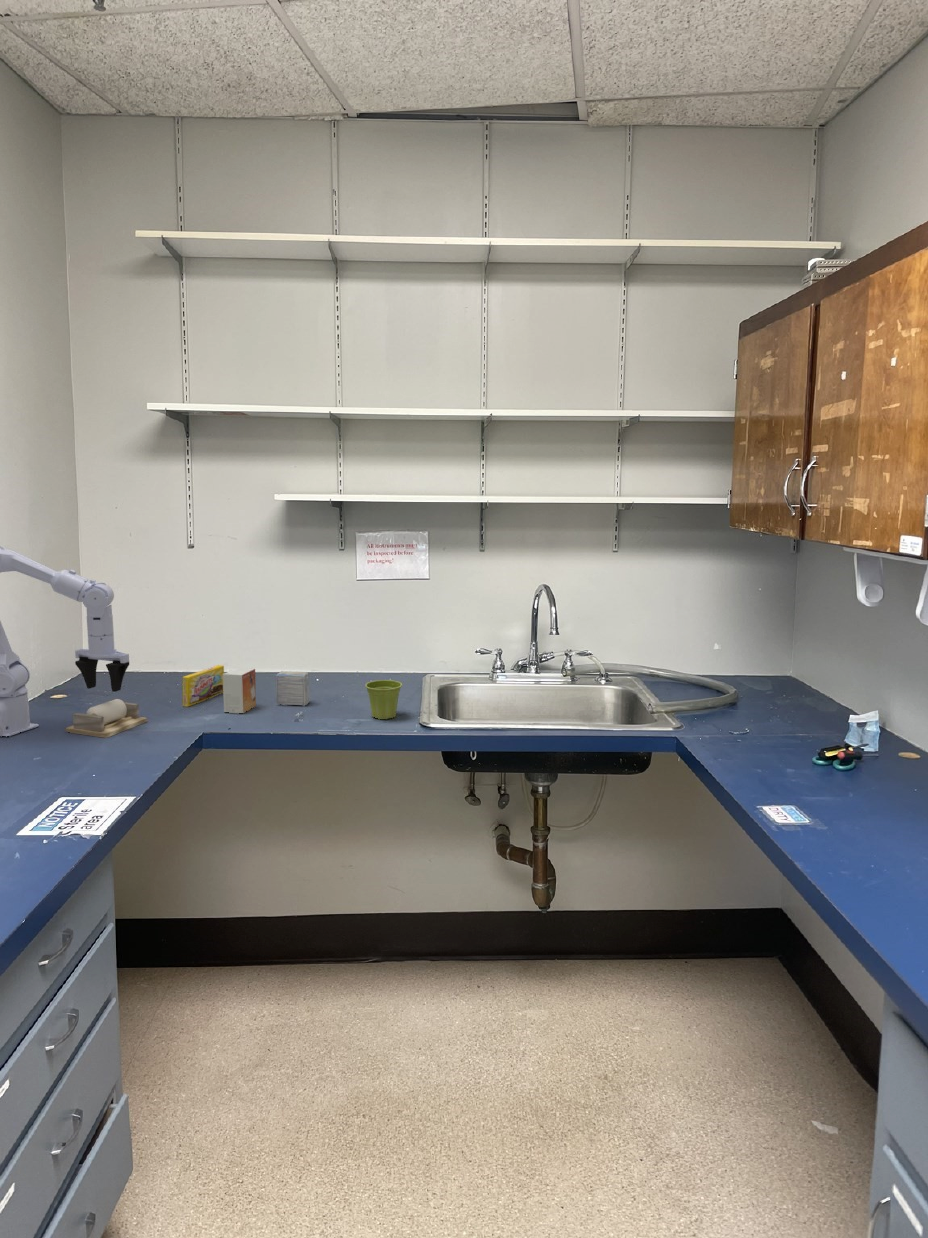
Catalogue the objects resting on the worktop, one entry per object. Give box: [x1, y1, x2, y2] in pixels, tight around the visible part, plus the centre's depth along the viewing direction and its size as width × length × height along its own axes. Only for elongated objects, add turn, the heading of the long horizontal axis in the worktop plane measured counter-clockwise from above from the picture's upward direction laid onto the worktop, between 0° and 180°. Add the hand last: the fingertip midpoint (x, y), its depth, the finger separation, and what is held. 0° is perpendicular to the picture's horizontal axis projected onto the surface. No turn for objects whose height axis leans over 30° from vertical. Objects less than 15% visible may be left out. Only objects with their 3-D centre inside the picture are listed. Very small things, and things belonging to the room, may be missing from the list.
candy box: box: [182, 664, 225, 708], centre depth 225 cm, size 16×2×8 cm, turn 161°
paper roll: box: [85, 698, 127, 725], centre depth 199 cm, size 8×5×5 cm, turn 161°
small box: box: [222, 667, 257, 714], centre depth 215 cm, size 8×6×10 cm
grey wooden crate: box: [275, 670, 310, 706], centre depth 221 cm, size 8×4×9 cm, turn 84°
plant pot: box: [365, 679, 403, 720], centre depth 211 cm, size 9×9×9 cm
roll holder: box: [65, 701, 148, 739], centre depth 199 cm, size 14×12×4 cm
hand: (103, 689), depth 198 cm, fingers open, 7 cm apart
